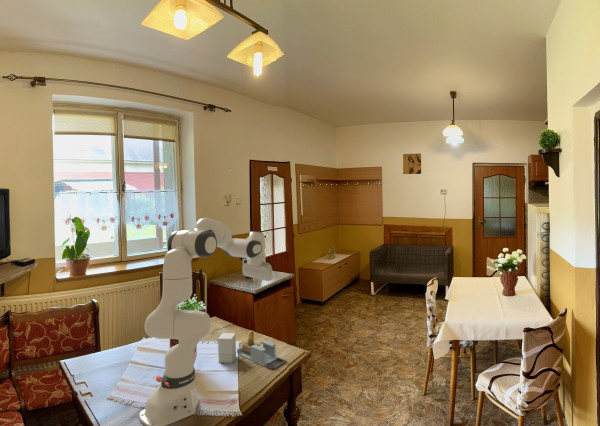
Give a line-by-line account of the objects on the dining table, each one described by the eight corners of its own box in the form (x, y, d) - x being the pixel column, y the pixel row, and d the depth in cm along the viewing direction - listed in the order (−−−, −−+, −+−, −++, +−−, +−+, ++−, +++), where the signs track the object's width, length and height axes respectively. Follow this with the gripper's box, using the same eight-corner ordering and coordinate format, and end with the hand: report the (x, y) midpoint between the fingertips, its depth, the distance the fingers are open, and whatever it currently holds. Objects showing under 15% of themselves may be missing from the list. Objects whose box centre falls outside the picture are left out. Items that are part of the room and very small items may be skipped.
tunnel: (272, 370, 173) (272, 355, 172) (236, 354, 190) (236, 340, 189) (286, 362, 180) (286, 348, 180) (250, 347, 197) (250, 334, 197)
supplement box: (236, 356, 187) (236, 333, 186) (232, 363, 180) (232, 338, 179) (222, 355, 188) (222, 332, 187) (218, 362, 180) (217, 338, 179)
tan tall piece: (251, 355, 185) (251, 335, 184) (242, 352, 190) (242, 331, 189) (259, 351, 190) (259, 331, 189) (250, 348, 194) (250, 328, 193)
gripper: (275, 262, 187) (275, 288, 188) (248, 257, 200) (249, 282, 201) (266, 264, 183) (267, 291, 184) (240, 259, 196) (240, 284, 197)
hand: (257, 286), depth 193 cm, fingers closed
